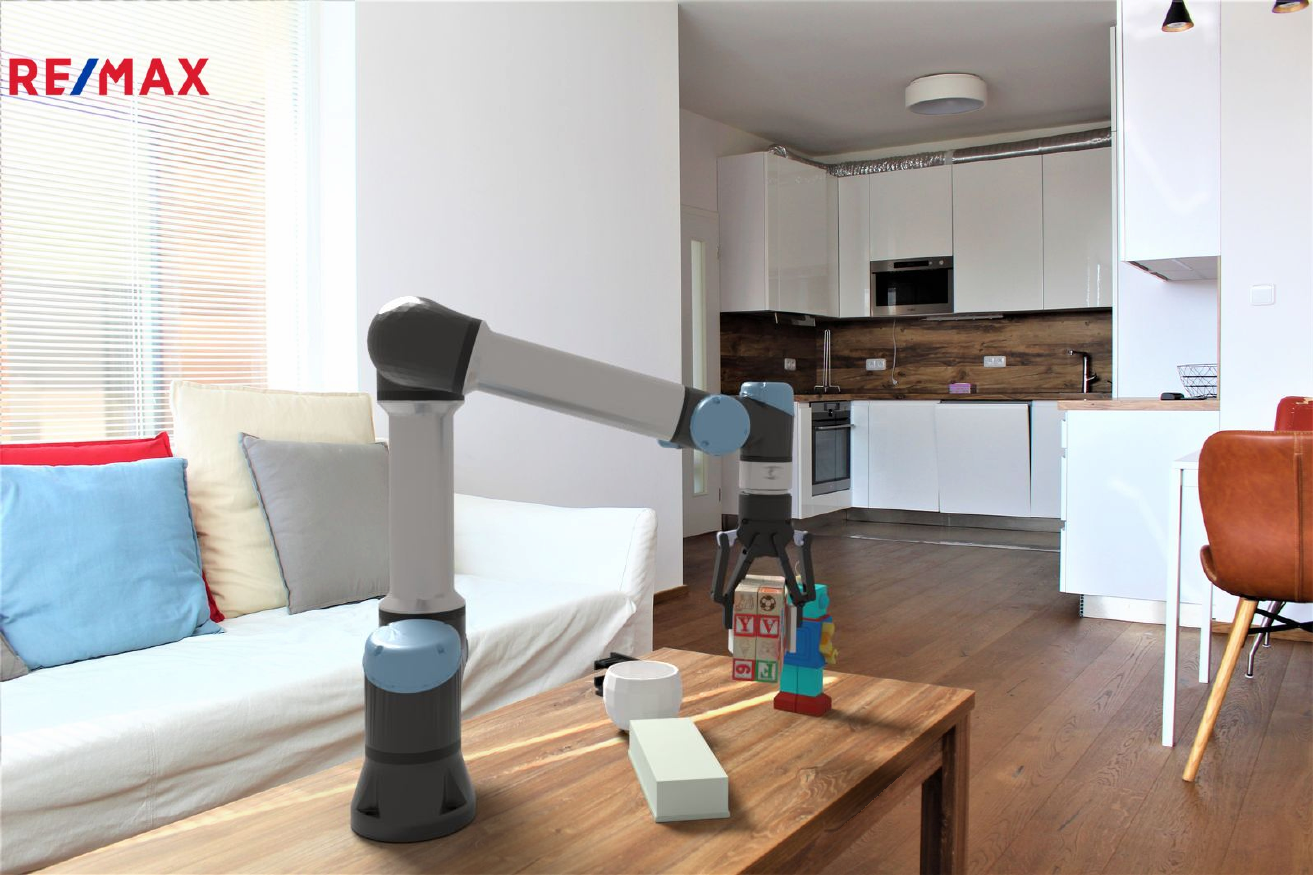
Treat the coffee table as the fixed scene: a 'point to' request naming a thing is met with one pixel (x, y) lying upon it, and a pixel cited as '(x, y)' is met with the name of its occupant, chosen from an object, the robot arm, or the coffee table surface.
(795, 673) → the toy robot
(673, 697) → the cup
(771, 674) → the stack of blocks
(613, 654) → the end cap
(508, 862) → the coffee table surface
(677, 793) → the plinth
